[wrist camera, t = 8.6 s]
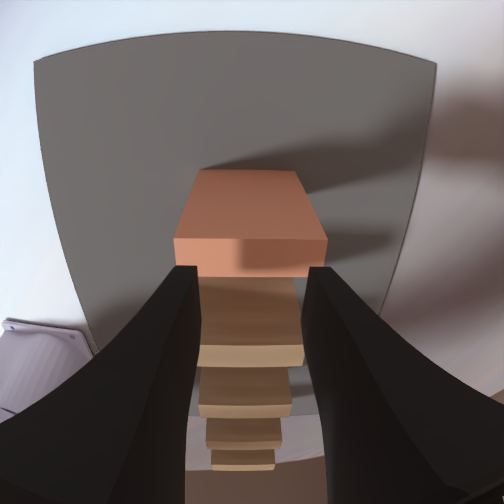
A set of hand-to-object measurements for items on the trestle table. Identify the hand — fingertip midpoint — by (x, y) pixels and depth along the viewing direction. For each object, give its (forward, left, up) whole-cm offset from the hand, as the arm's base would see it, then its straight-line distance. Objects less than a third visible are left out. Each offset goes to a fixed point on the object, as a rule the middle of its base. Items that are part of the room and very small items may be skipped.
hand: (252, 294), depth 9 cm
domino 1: (0, 0, -9) cm, 9 cm away
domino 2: (0, -5, -9) cm, 10 cm away
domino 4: (0, -15, -9) cm, 17 cm away
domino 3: (0, -10, -9) cm, 13 cm away
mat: (-1, -8, -9) cm, 12 cm away
